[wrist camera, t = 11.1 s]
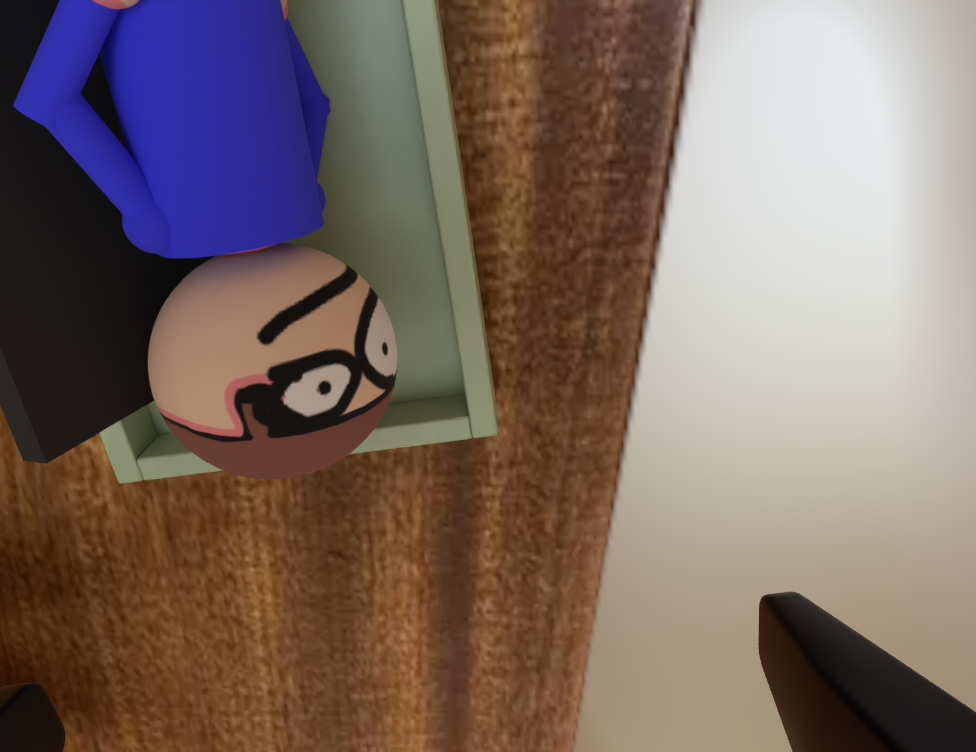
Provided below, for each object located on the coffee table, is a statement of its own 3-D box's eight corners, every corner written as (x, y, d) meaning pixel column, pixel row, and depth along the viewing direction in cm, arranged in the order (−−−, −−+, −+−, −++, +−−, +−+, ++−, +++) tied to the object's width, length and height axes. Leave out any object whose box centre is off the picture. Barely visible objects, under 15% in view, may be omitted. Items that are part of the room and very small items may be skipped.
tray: (381, -390, 14) (366, -466, 12) (496, 402, 21) (498, 436, 19) (-124, -301, 14) (-217, -362, 12) (151, 448, 21) (118, 485, 19)
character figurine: (319, -299, 14) (411, 380, 20) (-54, -277, 14) (152, 409, 20) (219, -689, 7) (409, 549, 13) (-568, -665, 7) (1, 599, 12)
